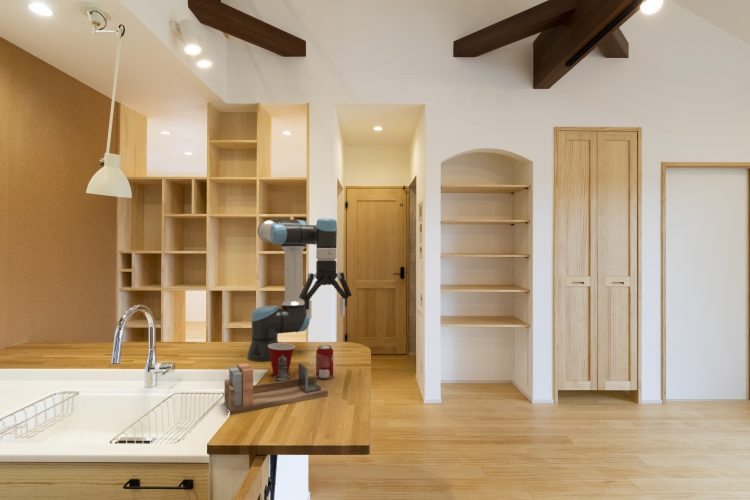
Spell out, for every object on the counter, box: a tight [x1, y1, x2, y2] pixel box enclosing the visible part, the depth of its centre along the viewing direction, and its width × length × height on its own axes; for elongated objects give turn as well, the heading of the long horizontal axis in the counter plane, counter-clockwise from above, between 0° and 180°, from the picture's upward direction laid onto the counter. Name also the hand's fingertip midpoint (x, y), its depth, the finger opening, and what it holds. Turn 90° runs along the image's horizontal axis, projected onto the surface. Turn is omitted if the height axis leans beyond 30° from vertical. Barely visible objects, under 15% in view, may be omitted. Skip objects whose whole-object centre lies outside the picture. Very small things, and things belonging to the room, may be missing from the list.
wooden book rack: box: [223, 361, 329, 415], centre depth 134 cm, size 11×32×12 cm, turn 121°
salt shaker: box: [273, 354, 292, 382], centre depth 145 cm, size 6×6×12 cm
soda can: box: [315, 344, 334, 380], centre depth 157 cm, size 7×7×12 cm
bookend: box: [297, 363, 321, 392], centre depth 140 cm, size 7×6×8 cm
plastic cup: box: [268, 342, 296, 377], centre depth 159 cm, size 11×11×12 cm
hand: (326, 316), depth 148 cm, fingers open, 13 cm apart
